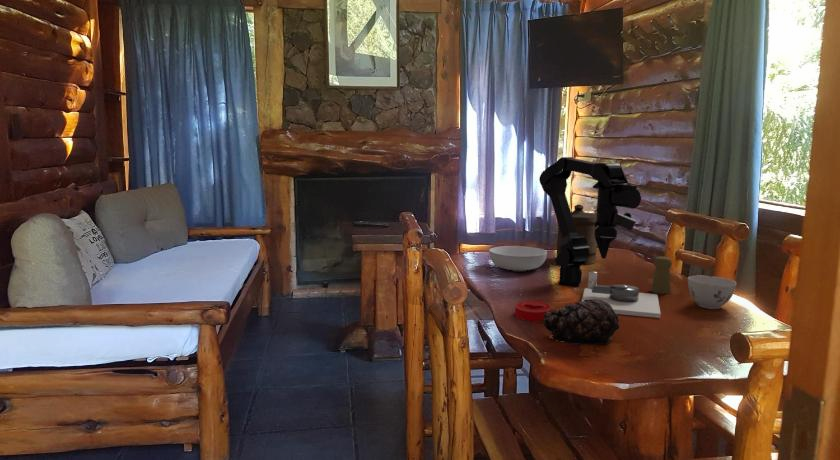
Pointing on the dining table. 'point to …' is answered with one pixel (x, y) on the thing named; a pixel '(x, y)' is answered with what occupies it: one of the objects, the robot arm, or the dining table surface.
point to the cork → (662, 276)
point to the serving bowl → (517, 257)
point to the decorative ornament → (532, 310)
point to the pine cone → (583, 322)
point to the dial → (613, 289)
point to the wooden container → (583, 231)
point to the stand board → (629, 304)
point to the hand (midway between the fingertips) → (603, 255)
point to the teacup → (711, 290)
